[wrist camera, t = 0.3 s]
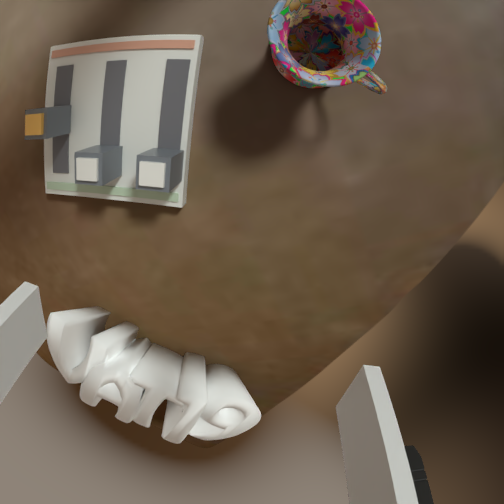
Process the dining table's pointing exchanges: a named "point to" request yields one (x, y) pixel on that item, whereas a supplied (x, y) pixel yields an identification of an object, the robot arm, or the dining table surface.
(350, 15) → the mug
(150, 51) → the panel
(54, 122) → the block
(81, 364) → the wavy white extrusion
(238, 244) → the dining table surface
